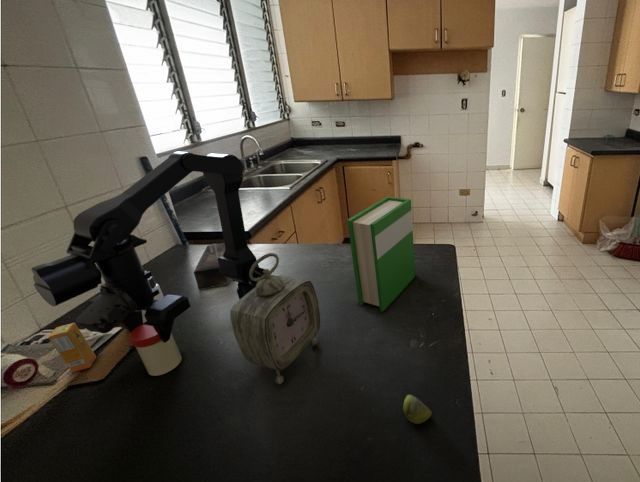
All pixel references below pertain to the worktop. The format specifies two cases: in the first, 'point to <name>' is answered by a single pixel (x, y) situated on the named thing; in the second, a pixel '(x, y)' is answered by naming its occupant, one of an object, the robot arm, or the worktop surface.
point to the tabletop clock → (276, 319)
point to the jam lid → (144, 336)
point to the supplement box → (72, 347)
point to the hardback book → (382, 250)
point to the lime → (415, 410)
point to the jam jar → (160, 357)
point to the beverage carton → (210, 268)
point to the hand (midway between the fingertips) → (153, 339)
